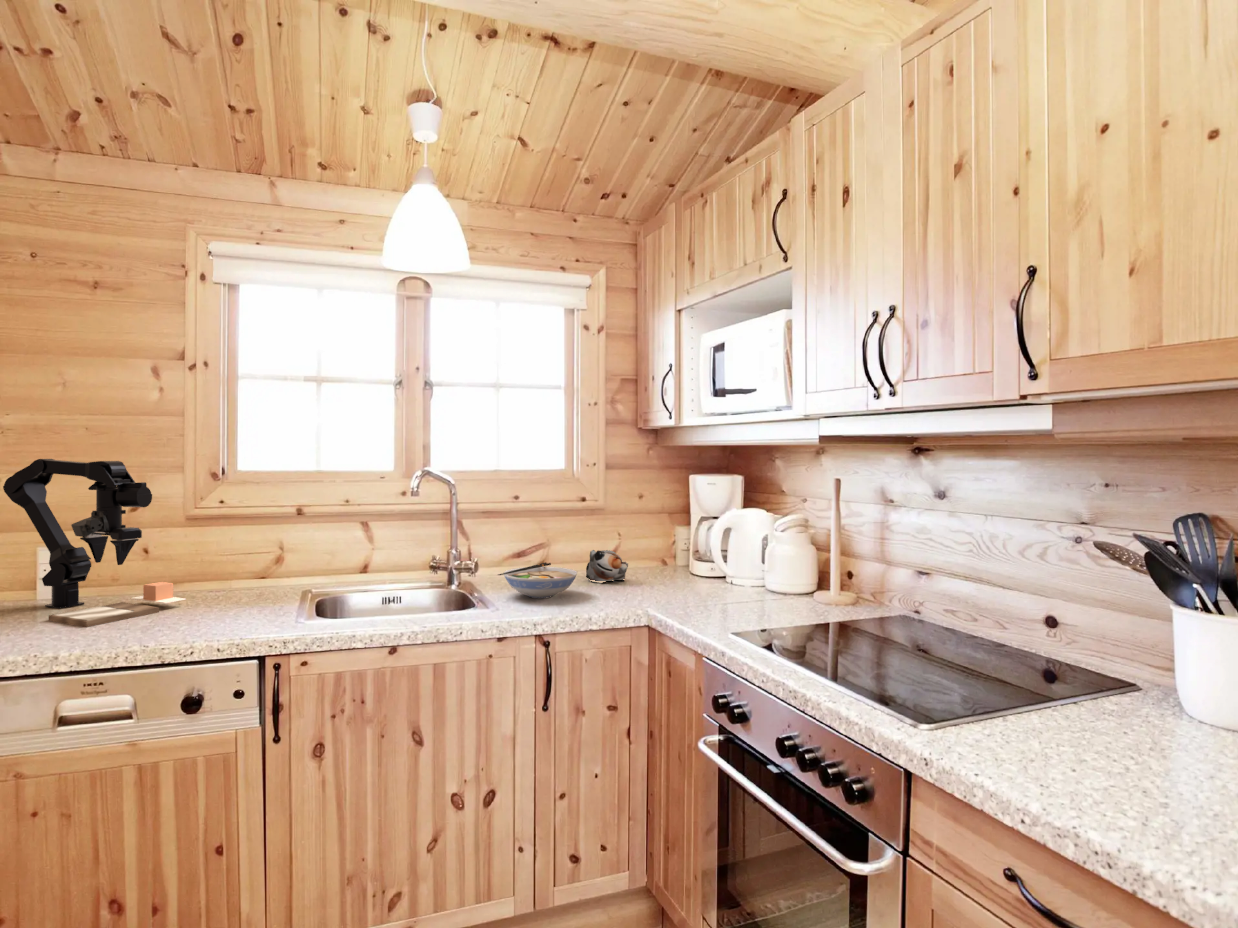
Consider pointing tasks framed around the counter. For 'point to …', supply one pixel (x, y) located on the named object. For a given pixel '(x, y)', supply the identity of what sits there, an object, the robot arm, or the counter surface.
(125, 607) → the board
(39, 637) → the counter surface
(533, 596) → the ramen bowl
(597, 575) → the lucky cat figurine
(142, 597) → the butter dish
